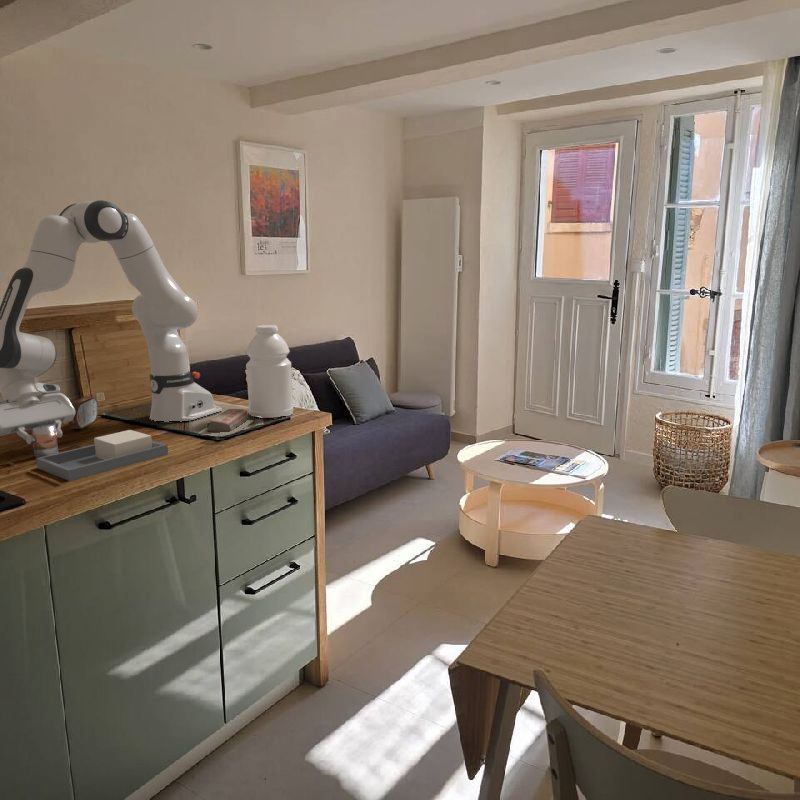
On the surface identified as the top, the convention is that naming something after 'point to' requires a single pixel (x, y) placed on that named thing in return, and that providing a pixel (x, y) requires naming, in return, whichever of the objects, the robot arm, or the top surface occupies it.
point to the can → (44, 440)
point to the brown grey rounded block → (84, 412)
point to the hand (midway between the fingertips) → (45, 439)
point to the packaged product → (226, 421)
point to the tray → (93, 461)
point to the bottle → (269, 374)
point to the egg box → (121, 444)
